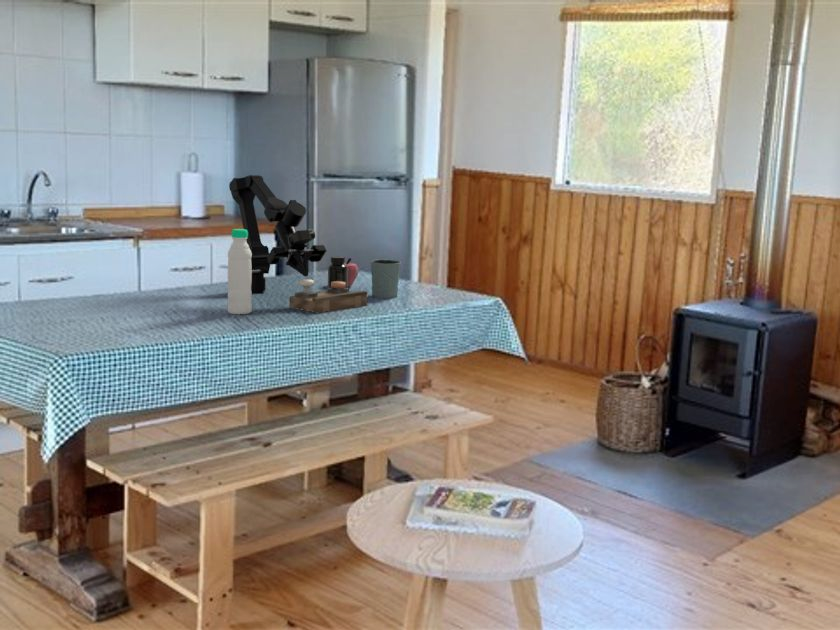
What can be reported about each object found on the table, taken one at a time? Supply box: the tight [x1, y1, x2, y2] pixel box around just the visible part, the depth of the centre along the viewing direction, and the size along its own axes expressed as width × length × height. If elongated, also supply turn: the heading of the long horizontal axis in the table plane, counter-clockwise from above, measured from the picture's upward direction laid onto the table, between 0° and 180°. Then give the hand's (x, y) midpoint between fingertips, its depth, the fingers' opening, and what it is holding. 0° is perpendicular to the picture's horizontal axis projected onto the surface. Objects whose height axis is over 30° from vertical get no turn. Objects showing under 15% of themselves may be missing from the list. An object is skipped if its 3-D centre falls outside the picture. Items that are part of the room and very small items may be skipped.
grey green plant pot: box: [370, 258, 402, 300], centre depth 331 cm, size 10×10×12 cm
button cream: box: [298, 278, 315, 294], centre depth 305 cm, size 5×5×6 cm
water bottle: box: [227, 228, 253, 316], centre depth 292 cm, size 7×7×25 cm
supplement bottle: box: [327, 256, 349, 289], centre depth 337 cm, size 7×7×12 cm
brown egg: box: [331, 281, 346, 289], centre depth 316 cm, size 5×5×6 cm
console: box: [288, 287, 368, 313], centre depth 309 cm, size 12×22×5 cm, turn 140°
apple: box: [344, 257, 360, 287], centre depth 349 cm, size 10×9×10 cm
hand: (306, 275), depth 304 cm, fingers closed
